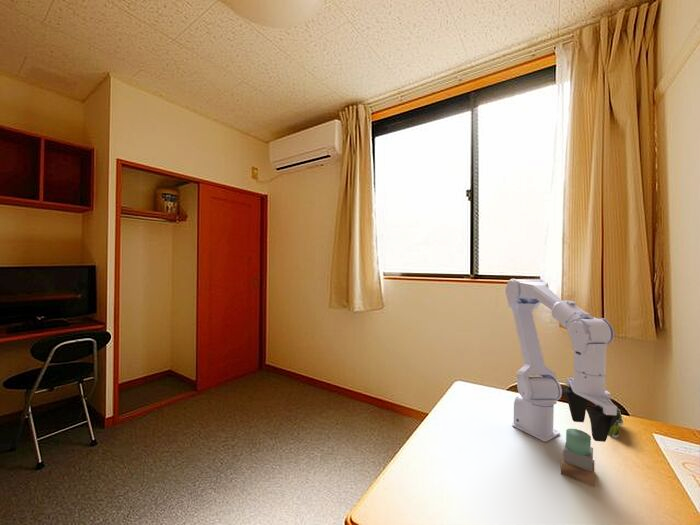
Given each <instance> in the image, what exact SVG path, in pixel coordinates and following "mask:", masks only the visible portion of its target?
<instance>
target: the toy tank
mask: <svg viewBox="0 0 700 525" xmlns="http://www.w3.org/2000/svg"><path fill="white" fill-rule="evenodd" d="M617 412H618V413H619V414H620V418H619V419H618V420H617V421H616V422H615V423H614V424H613V426H612V427H611V429H610V431H609V434H608V436H607V437H610V438H613V439H617V438H618V437H619V438H620V432H619V426H623V424H624V420H623V416H622V413H621V409H620V408H618V407H617Z"/></svg>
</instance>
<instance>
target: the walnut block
mask: <svg viewBox="0 0 700 525" xmlns="http://www.w3.org/2000/svg"><path fill="white" fill-rule="evenodd" d="M560 475H561V476H565V477H567V478H570V479H572V480H576V481H578V482H580V483H583V484H587V485H589V486H591V487H595V460H594V459H593V464H592V472H590V471H587V470H585V469H582V468H579V467H577V466H574V465H571V464H569V463H566V462H564V449H563V450H562V455H561V459H560Z"/></svg>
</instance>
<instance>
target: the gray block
mask: <svg viewBox="0 0 700 525" xmlns="http://www.w3.org/2000/svg"><path fill="white" fill-rule="evenodd" d="M563 450H564V462H566V463H569V464H571V465H574V466H577V467H579V468H582V469H585V470H587V471H590V472H592V464H593V460H594V447H591V452H590V455H589V456H582V455H578V454H575V453H573V452H571V451H570V450H568V449H567V447H566V443H564V448H563Z"/></svg>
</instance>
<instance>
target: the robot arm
mask: <svg viewBox="0 0 700 525" xmlns="http://www.w3.org/2000/svg"><path fill="white" fill-rule="evenodd" d="M507 281H508V282H507V283H506V287H505V296H506V300H507V303H508V307H509V308H510V309H511V310H512V316H513V319H514V322H515V323H514V324H515V328H516V332H517V337H518V343H519V347H520V352H521V355H522V360H523V366H522V367H521V368H520V369H519V370H518V371H517V372H516V378H517V379H516V380H517V381H516V387H517V391H518V394H517V395H516V397H515V398H514V402H513V423H511V425H512V427H514V428H516V429H518V430H520V431H522V432H525V433H527V435H530V436H532V437H534V438H535V439H538V440H540V441H542V442H544V443H545V442H549V441H550V440H552V439H554V438H555V437H558V436H559V435H560V434H561V432H560V431H558V430H556V429H554V413H555V412H554V410H555V409H554V408H555V407H554V405H557V404H558V403H557V401H559V400H560V399H561V398H562V395H564V397H565V399H566V401H567V405H568V408H569V411H570V416H571V419H572V422H574V423H584V422H585V418H586V413H587V415H588V418H589V420H590V421H589V422H590V429H591V430H590V431H591V436H592V437H591V438H592V439H593V440H594V441H595V442H602V443H605V442H606V440H607V439H608V437H609V436H608V434H609V431H610V429H611V427H612V426H613V424H614V423H615V422H616V421H617V420H618V419H619V418H620V414H619V413H618V412H617V408H618V406H617V405H615V404H614V403H613V402H612V400H611V398H609V397H611V395H612V394H611V393H612V392H609V391H608V390H606V385H607V384H606V380H607V379H606V377H607V375H606V374H607V345H609V344H611V343H612V342H613V341H614V338H615V331H614V328H613V325H612V324H611V323H610V322H609V321H608V320H607V319H606V318H603V317H595V316H592V315H591V313H589V312H587V311H585V310H584V309H582V308H581V307H579V306H578V305H577V303H576V302H575V301H574V300H562V299H561V298H560V297H559V296H558V295H557V294H556V293H554V292H553V291H552V290H551V289H550V287H549V284H548V282H546V281H545V280H543V279H542V278H537V279H531V278H530V279H529V278H527V279H524V278H523V279H522V278H521V279H520V278H519V279H516V278H511V279H509V280H507ZM541 304H542V305H544V306H545V307H547V308H548V309H549V310H551V316H552V318H554V320H556V321H557V322H558V323H560V325H562V326H563V327H564V328H565V329H566V330H567V333H568V336H569V339H570V341H571V342H570V343H571V347H572V348H571V349H572V350H574V351H573V377H566V378H565V380H566V381H565V385H566V386H567V387H568V388H562V385H561V384H560V381H559V380H558V379H557V378H558V377H557V376H556V375H557V374H556V372H555V371H554V370H552V369H551V368H550V367H548V366H547V365H546V364H545V361H544V356H543V353H542V348H541V345H540V341H539V335H538V332H537V328H536V323H535V320H534V314H533V311H534V309H536V308H538V307H539V306H540V305H541ZM589 401H590V402H591V403H592V404H594V405H595V406H588V403H589Z"/></svg>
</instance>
